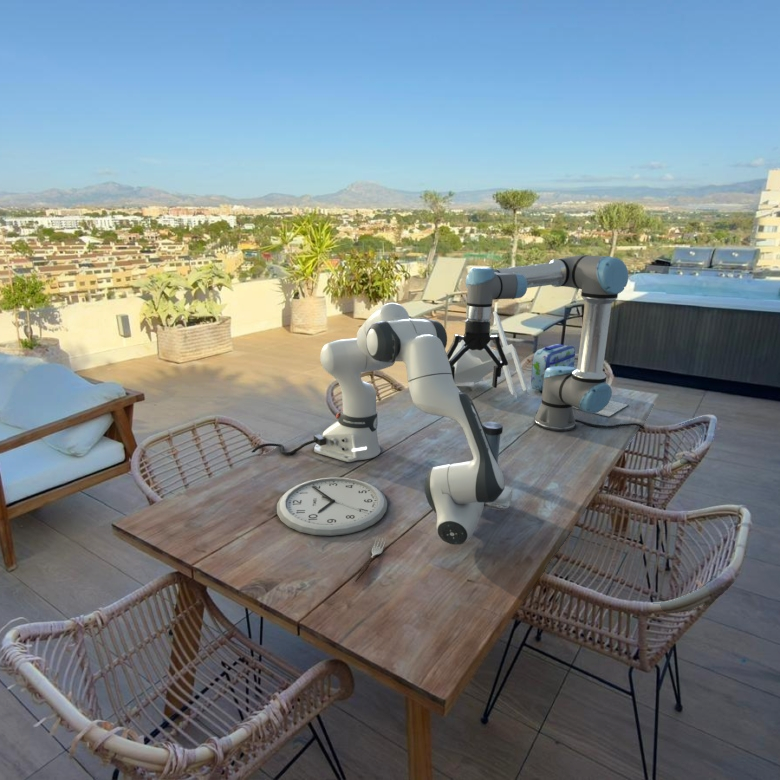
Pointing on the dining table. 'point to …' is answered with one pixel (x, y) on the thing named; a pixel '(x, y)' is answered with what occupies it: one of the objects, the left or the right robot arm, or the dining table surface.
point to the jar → (494, 444)
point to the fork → (375, 551)
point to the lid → (492, 428)
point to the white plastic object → (487, 363)
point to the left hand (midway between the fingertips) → (478, 478)
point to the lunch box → (550, 362)
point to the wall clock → (331, 506)
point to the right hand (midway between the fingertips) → (473, 386)
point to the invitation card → (611, 408)
